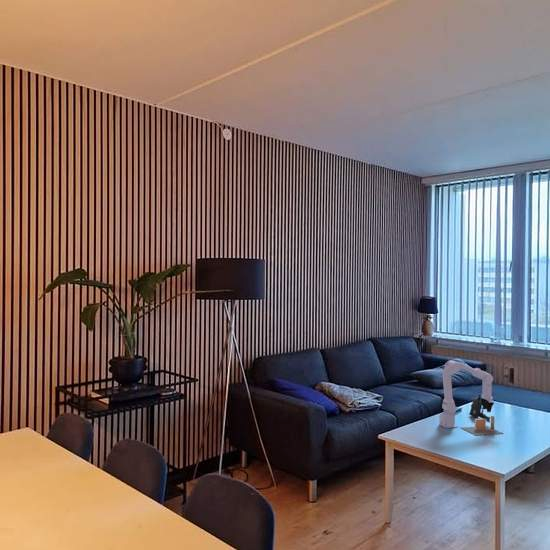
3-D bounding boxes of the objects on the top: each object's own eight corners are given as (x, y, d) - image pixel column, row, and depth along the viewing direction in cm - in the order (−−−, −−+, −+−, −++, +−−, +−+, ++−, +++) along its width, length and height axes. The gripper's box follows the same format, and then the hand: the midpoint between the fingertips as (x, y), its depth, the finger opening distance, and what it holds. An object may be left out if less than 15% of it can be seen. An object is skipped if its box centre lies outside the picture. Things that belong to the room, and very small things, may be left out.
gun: (492, 402, 339) (473, 393, 351) (486, 424, 342) (468, 414, 354) (494, 402, 340) (476, 392, 352) (488, 423, 344) (470, 413, 356)
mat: (475, 435, 309) (475, 435, 309) (460, 428, 325) (460, 427, 325) (503, 433, 314) (503, 433, 314) (487, 426, 329) (487, 425, 329)
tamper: (491, 432, 316) (491, 417, 316) (488, 430, 319) (488, 415, 319) (496, 431, 316) (496, 417, 316) (493, 430, 320) (493, 415, 320)
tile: (476, 430, 319) (476, 419, 319) (474, 429, 321) (474, 419, 321) (485, 429, 321) (485, 419, 321) (484, 428, 322) (484, 418, 322)
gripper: (497, 393, 324) (496, 413, 324) (489, 388, 339) (488, 407, 339) (486, 392, 325) (486, 413, 325) (478, 388, 339) (478, 407, 339)
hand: (486, 410), depth 332 cm, fingers open, 7 cm apart
